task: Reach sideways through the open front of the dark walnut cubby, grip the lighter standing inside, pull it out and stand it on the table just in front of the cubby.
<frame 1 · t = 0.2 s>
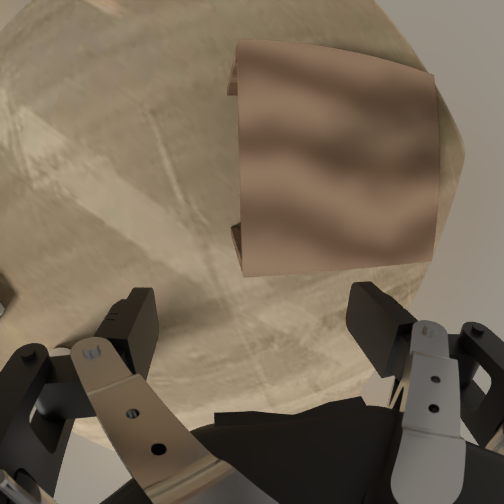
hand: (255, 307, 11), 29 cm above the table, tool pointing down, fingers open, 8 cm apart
open side box: (302, 159, 38), on the table
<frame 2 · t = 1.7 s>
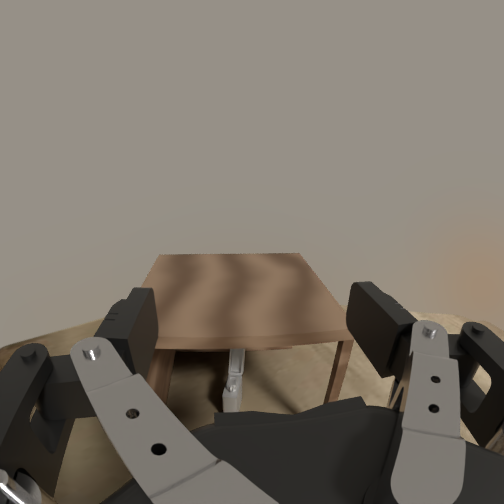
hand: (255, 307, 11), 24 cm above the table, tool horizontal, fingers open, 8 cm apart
lighter: (234, 401, 35), on the table
open side box: (233, 389, 37), on the table
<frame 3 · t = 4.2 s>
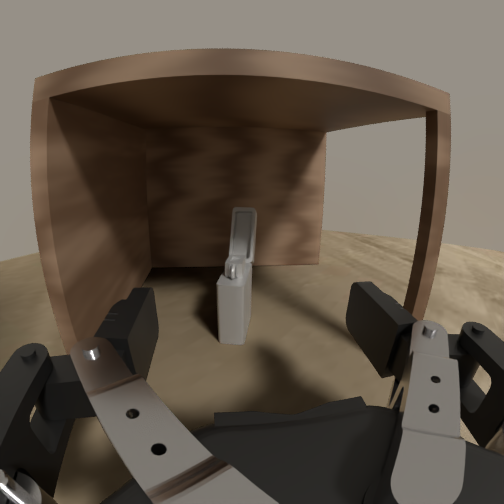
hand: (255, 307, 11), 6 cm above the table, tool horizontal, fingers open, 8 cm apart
lighter: (239, 319, 22), on the table
open side box: (237, 304, 24), on the table
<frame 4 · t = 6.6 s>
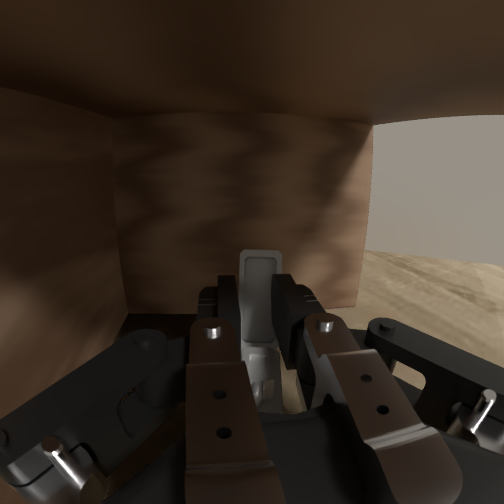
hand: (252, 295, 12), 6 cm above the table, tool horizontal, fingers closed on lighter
lighter: (255, 425, 12), on the table, touching gripper
open side box: (250, 394, 14), on the table
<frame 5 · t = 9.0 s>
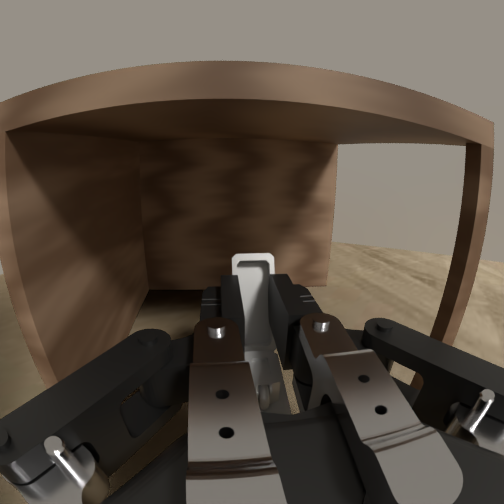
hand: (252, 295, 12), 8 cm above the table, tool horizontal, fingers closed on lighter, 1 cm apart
lighter: (256, 427, 12), point 1 cm above the table, touching gripper
open side box: (240, 339, 22), on the table
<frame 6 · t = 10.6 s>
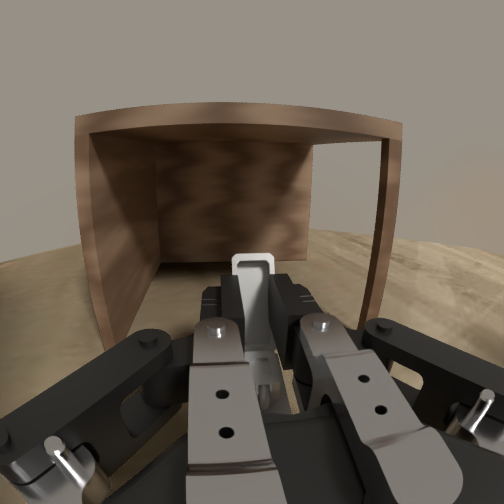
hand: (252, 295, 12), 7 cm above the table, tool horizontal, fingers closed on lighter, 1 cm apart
lighter: (256, 427, 12), point 1 cm above the table, touching gripper
open side box: (234, 293, 29), on the table
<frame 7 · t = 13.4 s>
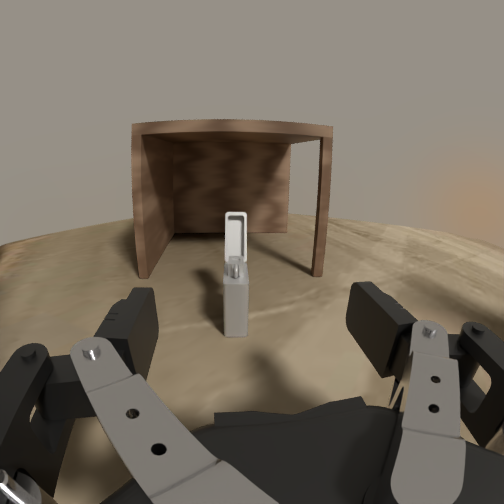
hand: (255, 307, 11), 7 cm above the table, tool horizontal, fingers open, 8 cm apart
lighter: (235, 314, 24), on the table
open side box: (229, 249, 40), on the table
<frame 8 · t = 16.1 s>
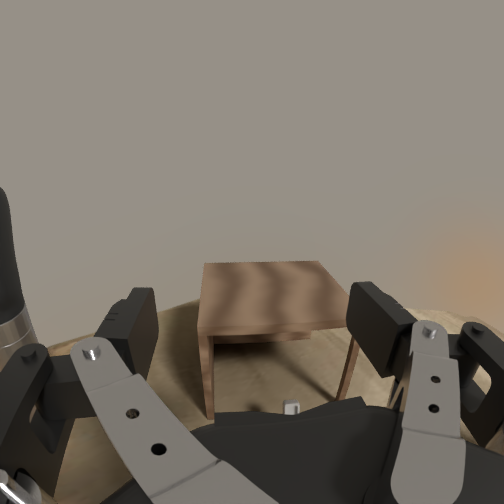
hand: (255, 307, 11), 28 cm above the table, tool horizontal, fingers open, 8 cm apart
lighter: (288, 455, 30), on the table
open side box: (267, 372, 46), on the table
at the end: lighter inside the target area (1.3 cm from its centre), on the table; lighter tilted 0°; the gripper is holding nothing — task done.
